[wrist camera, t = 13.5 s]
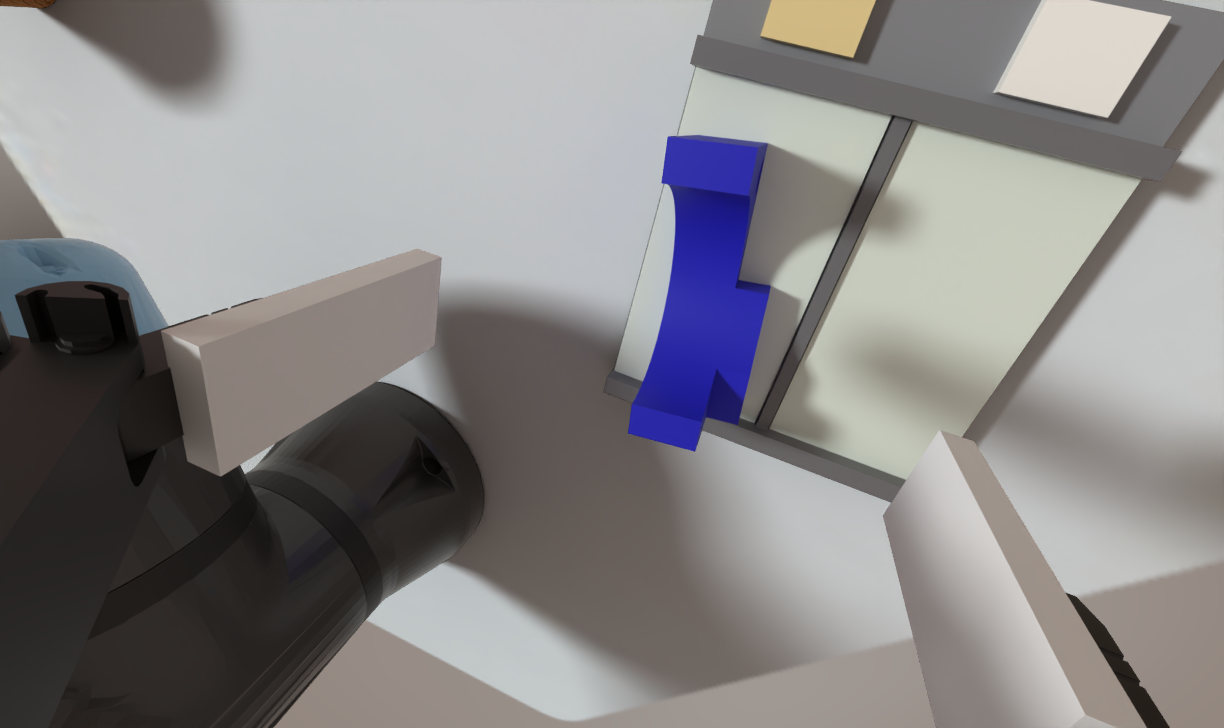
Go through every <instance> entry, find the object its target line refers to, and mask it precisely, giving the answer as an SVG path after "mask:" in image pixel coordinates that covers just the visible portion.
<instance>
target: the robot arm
mask: <svg viewBox="0 0 1224 728" xmlns="http://www.w3.org/2000/svg"><path fill="white" fill-rule="evenodd" d="M441 260H442V257H440V256H437V255H434V254H431V253H428V252H425V251H422V250H419V249H415V250H412V251H409V252H406V253H403V254H399V255H396V256H393V257H390V258H387V259H384V260H381V261H378V262H375V263H371V264H368V265H365V266H362V267H359V268H356V269H353V270H350V271H346V272H343V273H340V274H337V275H334V276H331V277H328V278H325V279H321V280H318V281H315V282H312V283H309V284H306V285H303V286H300V287H296V288H293V289H290V290H287V291H284V292H281V293H278V294H275V295H271V296H268V297H265V298H260V299H254V300H251V301H247V302H244V303H241V304H238V305H235V306H232V307H231V309H228V308H225V309H222V310H219V311H216V312H213V313H212V314H211V315H207V314H206V315H203V316H200V317H197V318H194V319H191V320H187V321H184V322H181V323H178V324H175V325H172V326H168V324H167V322H166V320H165V319H164V317H163V315H162V314H161V312H160V310H159V308H158V307H157V305H156V303H155V301H154V300H153V298H152V296H151V294H150V293H149V291H148V289H147V288H146V286H145V284H144V282H143V281H142V279H141V277H140V275H139V274H138V272H137V271H136V270H135V268H134V267H133V266H132V264H131V263H130V262H129V261H128V260H127V259H125V258H124V257H123V256H122V255H120V254H119V253H117V252H115V251H114V250H112V249H110V248H107V247H105V246H103V245H100V244H97V243H94V242H91V241H86V240H81V239H72V238H60V239H59V238H50V239H21V240H0V728H274V727H275V725H276V724H277V723H278V722H279V721H280V719H281V718H282V717H283V716H284V715H285V714H286V713H287V711H288V710H289V709H290V708H291V707H292V706H293V704H294V703H295V702H296V701H297V700H298V698H299V697H300V696H301V695H302V694H303V693H304V691H305V690H306V689H307V688H308V687H309V686H310V684H311V683H312V682H313V681H314V680H315V679H316V677H317V676H318V675H319V674H320V673H321V672H322V670H323V669H324V668H325V667H326V666H327V665H328V663H329V662H330V661H331V660H332V659H333V658H334V656H335V655H336V654H337V653H338V652H339V651H340V649H341V648H342V647H343V646H344V645H345V644H346V642H347V641H348V640H349V639H350V638H351V637H352V635H353V634H354V633H355V632H356V631H357V630H358V628H359V627H360V626H361V625H362V623H363V622H364V621H365V620H366V619H367V618H368V617H369V615H370V614H371V613H372V612H373V611H374V610H375V609H376V608H377V607H378V605H379V604H380V603H381V602H382V601H383V600H384V599H385V598H387V597H388V596H390V595H392V594H393V593H395V592H397V591H398V590H400V589H401V588H403V587H405V586H406V585H408V584H409V583H411V582H413V581H414V580H416V579H418V578H419V577H421V576H422V575H424V574H426V573H427V572H429V571H430V570H432V569H433V568H435V567H436V566H438V565H439V564H441V563H443V562H445V561H446V560H448V559H449V558H451V557H452V556H453V555H454V554H455V553H456V552H457V551H458V550H459V549H460V548H461V547H462V546H463V544H464V543H465V542H466V541H467V539H468V538H469V537H470V536H471V534H472V533H473V532H474V531H475V529H476V528H477V526H478V524H479V522H480V519H481V516H482V512H483V506H484V493H483V486H482V481H481V477H480V474H479V471H478V468H477V466H476V463H475V461H474V459H473V457H472V455H471V453H470V451H469V450H468V448H467V446H466V445H465V443H464V442H463V440H462V439H461V437H460V436H459V435H458V433H457V432H456V431H455V430H454V429H453V427H452V426H451V425H450V424H449V423H448V422H447V421H446V420H445V419H444V418H443V417H442V416H441V415H440V414H439V413H438V412H436V411H435V410H434V409H433V408H432V407H430V406H429V405H428V404H426V403H425V402H423V401H422V400H420V399H419V398H417V397H415V396H414V395H412V394H410V393H408V392H406V391H404V390H402V389H400V388H397V387H394V386H391V385H388V384H384V383H380V382H376V381H378V380H379V379H381V378H383V377H384V376H386V375H388V374H389V373H391V372H393V371H394V370H396V369H397V368H399V367H401V366H402V365H404V364H406V363H407V362H409V361H411V360H412V359H414V358H415V357H417V356H419V355H420V354H422V353H424V352H425V351H427V350H429V349H430V348H432V347H433V346H435V337H436V324H437V311H438V298H439V286H440V273H441ZM273 444H275V445H274V446H273V447H272V448H271V449H270V451H269V452H268V453H267V454H266V455H265V456H264V458H263V459H262V460H261V461H260V462H259V463H258V465H257V466H256V467H255V468H253V469H252V470H251V471H249V472H248V473H246V474H244V472H243V470H242V468H241V466H240V464H242V463H244V462H245V461H247V460H249V459H250V458H252V457H254V456H255V455H257V454H258V453H260V452H262V451H263V450H265V449H267V448H268V447H270V446H272V445H273ZM883 518H884V522H885V526H886V530H887V534H888V538H889V542H890V546H891V550H892V554H893V558H894V562H895V566H896V570H897V574H898V578H899V582H900V586H901V590H902V594H903V598H904V602H905V606H906V610H907V614H908V618H909V622H910V626H911V630H912V634H913V638H914V642H915V646H916V650H917V654H918V658H919V662H920V665H921V670H922V674H923V678H924V682H925V686H926V689H927V694H928V698H929V702H930V706H931V710H932V714H933V718H934V722H935V726H936V728H1170V727H1169V726H1168V724H1167V723H1166V721H1165V719H1164V718H1163V716H1162V715H1161V713H1160V712H1159V710H1158V708H1157V707H1156V705H1155V704H1154V702H1153V701H1152V699H1151V697H1150V696H1149V694H1148V693H1147V691H1146V690H1145V689H1144V688H1143V687H1140V686H1139V682H1140V680H1139V679H1138V678H1137V676H1136V674H1135V673H1134V671H1133V669H1132V668H1131V666H1130V665H1129V663H1128V662H1126V661H1123V657H1124V656H1123V654H1122V652H1121V651H1120V649H1119V648H1118V646H1117V644H1116V643H1115V641H1114V640H1113V638H1112V637H1111V635H1110V634H1109V632H1108V631H1107V629H1106V627H1105V626H1104V625H1103V624H1102V623H1101V622H1100V621H1099V620H1098V619H1097V618H1096V617H1095V616H1094V615H1093V614H1092V613H1091V612H1090V611H1089V609H1088V608H1087V607H1086V606H1085V605H1084V604H1082V602H1081V601H1080V600H1079V599H1078V598H1077V597H1076V596H1073V595H1070V594H1068V593H1065V591H1064V589H1063V588H1062V586H1061V585H1060V583H1059V581H1058V580H1057V578H1056V576H1055V575H1054V573H1053V571H1052V570H1051V568H1050V566H1049V565H1048V563H1047V561H1046V560H1045V558H1044V556H1043V555H1042V553H1041V551H1040V550H1039V548H1038V546H1037V545H1036V543H1035V541H1034V540H1033V538H1032V536H1031V535H1030V533H1029V531H1028V530H1027V528H1026V526H1025V525H1024V523H1023V521H1022V520H1021V518H1020V516H1019V515H1018V513H1017V512H1016V510H1015V508H1014V507H1013V505H1012V503H1011V502H1010V500H1009V498H1008V497H1007V495H1006V493H1005V492H1004V490H1003V488H1002V487H1001V485H1000V483H999V482H998V480H997V478H996V477H995V475H994V473H993V472H992V470H991V468H990V467H989V465H988V463H987V462H986V460H985V458H984V457H983V455H982V453H981V452H980V450H979V448H978V447H977V445H976V444H975V442H974V441H971V440H968V439H965V438H962V437H960V436H957V435H954V434H951V433H948V432H945V431H942V430H939V431H938V433H937V434H936V436H935V438H934V439H933V441H932V442H931V444H930V445H929V447H928V448H927V450H926V451H925V453H924V454H923V456H922V457H921V459H920V460H919V462H918V463H917V465H916V466H915V468H914V469H913V471H912V472H911V474H910V475H909V477H908V478H907V480H906V481H905V483H904V484H903V486H902V487H901V489H900V490H899V492H898V494H897V495H896V497H895V498H894V500H893V501H892V503H891V504H890V506H889V507H888V509H887V510H886V512H885V513H884V515H883Z"/></svg>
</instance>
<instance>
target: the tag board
mask: <svg viewBox="0 0 1224 728" xmlns="http://www.w3.org/2000/svg"><path fill="white" fill-rule="evenodd" d="M1223 59H1224V12H1220V11H1214V10H1209V9H1204V8H1199V7H1194V6H1189V5H1184V4H1179V3H1174V2H1168V1H1163V0H713V3H712V6H711V10H710V14H709V17H708V21H707V25H706V29H705V32H704V36H701V35H698V36H697V39H696V43H695V47H694V51H693V55H692V58H691V62H690V64H692V65H694V66H695V70H694V73H693V77H692V81H691V84H690V88H689V92H688V96H687V99H686V103H685V107H684V110H683V114H682V118H681V122H680V125H679V129H678V133H677V136H686V135H704V136H713V137H721V138H730V139H738V140H747V141H755V142H764V143H768V145H767V150H766V155H765V159H764V164H763V169H762V173H761V178H760V183H759V187H758V192H757V197H756V201H755V206H754V211H753V215H752V220H751V225H750V229H749V234H748V238H747V243H746V248H745V252H744V257H743V262H742V266H741V271H740V276H739V280H742V281H747V282H753V283H758V284H764V285H769V286H771V288H770V293H769V298H768V302H767V306H766V310H765V314H764V318H763V322H762V327H761V331H760V335H759V339H758V343H757V348H756V352H755V356H754V360H753V365H752V369H751V373H750V378H749V382H748V386H747V390H746V394H745V398H744V402H743V406H742V410H741V414H740V418H739V422H738V425H735V424H731V423H727V422H723V421H719V420H715V419H711V418H707V417H706V419H705V422H704V426H703V429H702V430H703V431H706V432H708V433H711V434H714V435H716V436H719V437H721V438H724V439H727V440H729V441H732V442H734V443H737V444H740V445H742V446H745V447H748V448H750V449H753V450H755V451H758V452H761V453H763V454H766V455H768V456H771V457H774V458H776V459H779V460H781V461H784V462H787V463H789V464H792V465H794V466H797V467H800V468H802V469H805V470H807V471H810V472H813V473H815V474H818V475H821V476H823V477H826V478H828V479H831V480H834V481H836V482H839V483H841V484H844V485H847V486H849V487H852V488H854V489H857V490H860V491H862V492H865V493H867V494H870V495H873V496H875V497H878V498H881V499H883V500H886V501H888V502H891V503H892V501H893V500H894V498H895V497H896V495H897V494H898V492H899V490H900V489H901V487H902V486H903V484H904V483H905V481H906V480H907V478H908V477H909V475H910V474H911V472H912V471H913V469H914V468H915V466H916V465H917V463H918V462H919V460H920V459H921V457H922V456H923V454H924V453H925V451H926V450H927V448H928V447H929V445H930V444H931V442H932V441H933V439H934V438H935V436H936V434H937V433H938V431H939V430H942V431H945V432H948V433H951V434H954V435H957V436H960V437H962V436H963V435H964V433H965V432H966V430H967V429H968V428H969V426H970V425H971V423H972V422H973V420H974V419H975V417H976V416H977V415H978V413H979V412H980V410H981V409H982V407H983V406H984V405H985V403H986V402H987V400H988V399H989V397H990V396H991V395H992V393H993V392H994V390H995V389H996V387H997V386H998V385H999V383H1000V382H1001V380H1002V379H1003V377H1004V376H1005V374H1006V373H1007V372H1008V370H1009V369H1010V367H1011V366H1012V364H1013V363H1014V362H1015V360H1016V359H1017V357H1018V356H1019V354H1020V353H1021V352H1022V350H1023V349H1024V347H1025V346H1026V344H1027V343H1028V342H1029V340H1030V339H1031V337H1032V336H1033V334H1034V333H1035V331H1036V330H1037V329H1038V327H1039V326H1040V324H1041V323H1042V321H1043V320H1044V319H1045V317H1046V316H1047V314H1048V313H1049V311H1050V310H1051V309H1052V307H1053V306H1054V304H1055V303H1056V301H1057V300H1058V299H1059V297H1060V296H1061V294H1062V293H1063V291H1064V290H1065V289H1066V287H1067V286H1068V284H1069V283H1070V281H1071V280H1072V278H1073V277H1074V276H1075V274H1076V273H1077V271H1078V270H1079V268H1080V267H1081V266H1082V264H1083V263H1084V261H1085V260H1086V258H1087V257H1088V256H1089V254H1090V253H1091V251H1092V250H1093V248H1094V247H1095V246H1096V244H1097V243H1098V241H1099V240H1100V238H1101V237H1102V235H1103V234H1104V233H1105V231H1106V230H1107V228H1108V227H1109V225H1110V224H1111V223H1112V221H1113V220H1114V218H1115V217H1116V215H1117V214H1118V213H1119V211H1120V210H1121V208H1122V207H1123V205H1124V204H1125V203H1126V201H1127V200H1128V198H1129V197H1130V195H1131V194H1132V193H1133V191H1134V190H1135V188H1136V187H1137V185H1138V184H1139V182H1140V181H1141V180H1142V179H1144V180H1151V181H1158V182H1161V180H1162V179H1163V178H1164V176H1165V175H1166V173H1167V172H1168V171H1169V169H1170V168H1171V166H1172V165H1173V164H1174V162H1175V161H1176V159H1177V158H1178V157H1179V155H1180V154H1181V152H1182V151H1179V150H1174V149H1170V148H1166V147H1163V146H1164V144H1165V143H1166V141H1167V140H1168V138H1169V137H1170V136H1171V134H1172V133H1173V131H1174V130H1175V128H1176V127H1177V126H1178V124H1179V123H1180V121H1181V120H1182V118H1183V117H1184V115H1185V114H1186V113H1187V111H1188V110H1189V108H1190V107H1191V105H1192V104H1193V103H1194V101H1195V100H1196V98H1197V97H1198V95H1199V94H1200V92H1201V91H1202V90H1203V88H1204V87H1205V85H1206V84H1207V82H1208V81H1209V80H1210V78H1211V77H1212V75H1213V74H1214V72H1215V71H1216V70H1217V68H1218V67H1219V65H1220V64H1221V62H1222V61H1223ZM674 239H675V206H674V198H673V194H672V191H671V188H670V186H669V185H668V184H664V185H663V189H662V192H661V196H660V200H659V204H658V207H657V211H656V215H655V218H654V222H653V226H652V230H651V233H650V237H649V241H648V244H647V248H646V252H645V256H644V259H643V263H642V267H641V270H640V274H639V278H638V282H637V285H636V289H635V293H634V297H633V300H632V304H631V308H630V311H629V315H628V319H627V323H626V326H625V330H624V334H623V337H622V341H621V345H620V349H619V352H618V356H617V360H616V364H615V367H614V369H613V370H612V372H611V373H610V374H609V376H608V377H607V380H606V384H605V388H604V393H607V394H609V395H612V396H614V397H617V398H620V399H622V400H625V401H628V402H630V403H633V401H634V400H635V398H636V396H637V394H638V392H639V389H640V387H641V385H642V382H643V380H644V378H645V375H646V372H647V369H648V367H649V364H650V361H651V357H652V354H653V351H654V348H655V344H656V341H657V337H658V333H659V329H660V325H661V321H662V317H663V313H664V308H665V303H666V298H667V293H668V287H669V281H670V275H671V268H672V260H673V251H674Z"/></svg>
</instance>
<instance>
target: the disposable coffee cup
mask: <svg viewBox="0 0 1224 728" xmlns="http://www.w3.org/2000/svg"><path fill="white" fill-rule="evenodd" d="M54 1H55V0H0V6H13V7H32V8H45V7H49V6H50V5H52V4H53V3H54Z"/></svg>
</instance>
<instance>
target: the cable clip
mask: <svg viewBox="0 0 1224 728" xmlns="http://www.w3.org/2000/svg"><path fill="white" fill-rule="evenodd" d="M767 145H768V143H764V142H755V141H747V140H738V139H730V138H721V137H713V136H704V135H686V136H670V137H668V139H667V147H666V154H665V161H664V169H663V176H662V183H663V184H668V185H669V186H670V188H671V191H672V194H673V198H674V206H675V239H674V251H673V260H672V268H671V275H670V281H669V287H668V293H667V298H666V303H665V308H664V313H663V317H662V321H661V325H660V329H659V333H658V337H657V341H656V344H655V348H654V351H653V354H652V357H651V361H650V364H649V367H648V369H647V372H646V375H645V378H644V380H643V382H642V385H641V387H640V389H639V392H638V394H637V396H636V398H635V400H634V401H633V403H632V407H631V415H630V422H629V430H628V434H632V435H636V436H639V437H643V438H647V439H650V440H654V441H658V442H662V443H665V444H669V445H673V446H676V447H680V448H684V449H688V450H691V451H695V450H696V447H697V444H698V441H699V438H700V435H701V432H702V429H703V426H704V422H705V419H706V417H707V418H711V419H715V420H719V421H723V422H727V423H731V424H735V425H738V422H739V418H740V414H741V410H742V406H743V402H744V398H745V394H746V390H747V386H748V382H749V378H750V373H751V369H752V365H753V360H754V356H755V352H756V348H757V343H758V339H759V335H760V331H761V327H762V322H763V318H764V314H765V310H766V306H767V302H768V298H769V293H770V288H771V286H769V285H764V284H758V283H753V282H747V281H742V280H739V276H740V271H741V266H742V262H743V257H744V252H745V248H746V243H747V238H748V234H749V229H750V225H751V220H752V215H753V211H754V206H755V201H756V197H757V192H758V187H759V183H760V178H761V173H762V169H763V164H764V159H765V155H766V150H767Z"/></svg>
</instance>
